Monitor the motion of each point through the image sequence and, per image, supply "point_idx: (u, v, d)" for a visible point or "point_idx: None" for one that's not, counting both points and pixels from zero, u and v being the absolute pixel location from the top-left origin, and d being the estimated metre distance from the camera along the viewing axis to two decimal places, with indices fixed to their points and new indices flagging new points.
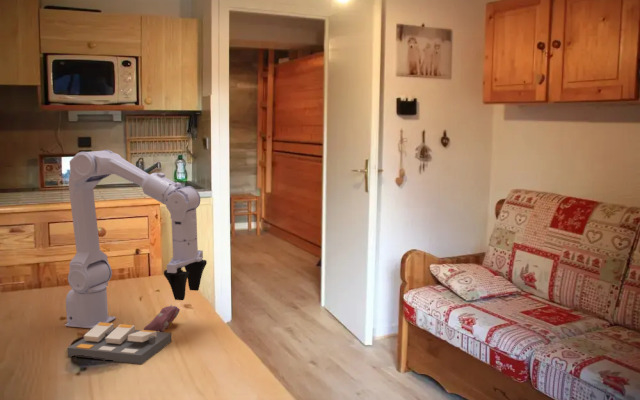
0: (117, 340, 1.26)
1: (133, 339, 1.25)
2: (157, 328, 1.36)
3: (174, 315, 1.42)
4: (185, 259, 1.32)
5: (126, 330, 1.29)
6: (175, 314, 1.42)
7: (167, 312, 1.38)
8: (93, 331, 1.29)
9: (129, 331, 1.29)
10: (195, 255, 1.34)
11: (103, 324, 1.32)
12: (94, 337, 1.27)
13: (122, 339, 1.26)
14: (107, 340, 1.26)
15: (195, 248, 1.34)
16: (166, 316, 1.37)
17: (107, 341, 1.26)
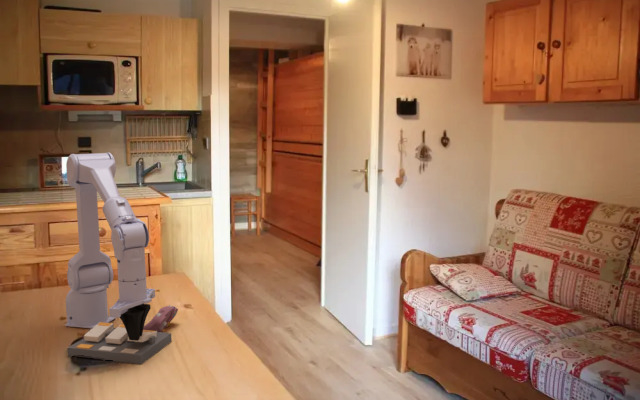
0: (117, 340, 1.26)
1: None
2: (155, 328, 1.36)
3: (172, 315, 1.42)
4: (131, 301, 1.21)
5: None
6: (173, 314, 1.42)
7: (165, 312, 1.38)
8: (93, 331, 1.29)
9: None
10: (143, 296, 1.22)
11: (103, 324, 1.32)
12: (94, 337, 1.27)
13: (122, 339, 1.26)
14: (107, 340, 1.26)
15: (143, 289, 1.22)
16: (164, 316, 1.37)
17: (107, 341, 1.26)
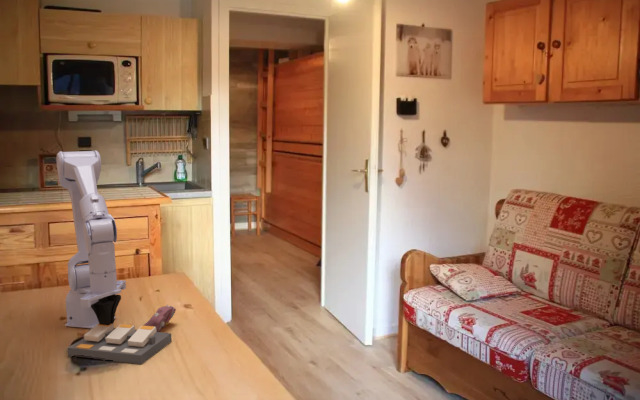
0: (117, 340, 1.26)
1: (134, 344, 1.25)
2: None
3: (170, 315, 1.42)
4: (102, 292, 1.29)
5: (126, 330, 1.29)
6: (171, 314, 1.42)
7: (163, 312, 1.38)
8: (93, 330, 1.29)
9: (129, 331, 1.29)
10: (113, 287, 1.30)
11: None
12: (94, 337, 1.27)
13: (122, 339, 1.26)
14: (107, 340, 1.26)
15: (113, 280, 1.30)
16: (162, 316, 1.37)
17: (107, 341, 1.26)
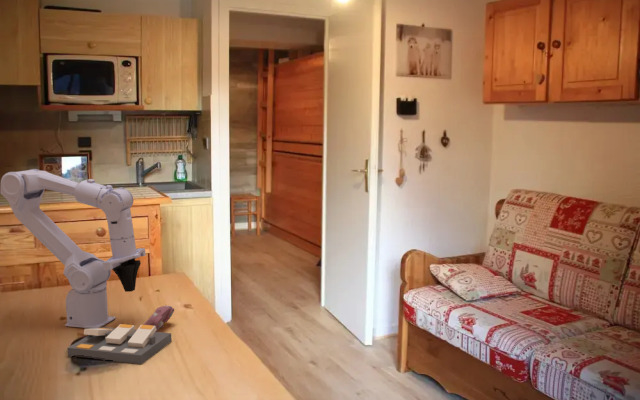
0: (117, 340, 1.26)
1: (134, 345, 1.25)
2: None
3: (169, 315, 1.42)
4: (122, 256, 1.39)
5: (126, 330, 1.29)
6: (170, 314, 1.42)
7: (162, 312, 1.38)
8: None
9: (129, 331, 1.29)
10: (132, 252, 1.40)
11: (104, 328, 1.32)
12: (94, 330, 1.27)
13: (122, 339, 1.26)
14: (107, 340, 1.26)
15: (132, 245, 1.40)
16: (161, 316, 1.37)
17: (107, 341, 1.26)
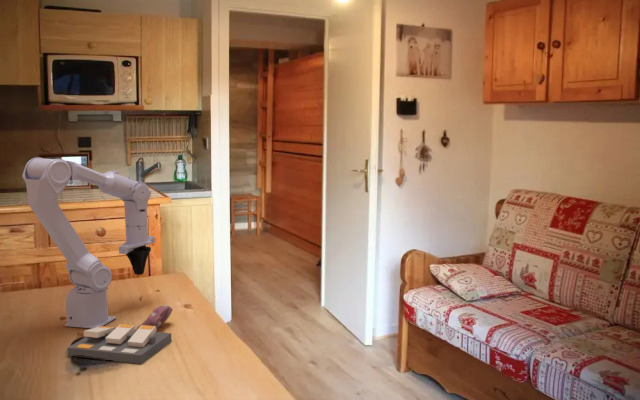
0: (117, 340, 1.26)
1: (134, 345, 1.25)
2: None
3: (167, 315, 1.42)
4: (136, 242, 1.52)
5: (126, 330, 1.29)
6: (168, 314, 1.42)
7: (160, 312, 1.38)
8: (94, 329, 1.30)
9: (129, 331, 1.29)
10: (145, 239, 1.54)
11: (104, 327, 1.32)
12: (94, 332, 1.27)
13: (122, 339, 1.26)
14: (107, 340, 1.26)
15: (145, 233, 1.54)
16: (159, 316, 1.37)
17: (107, 341, 1.26)
